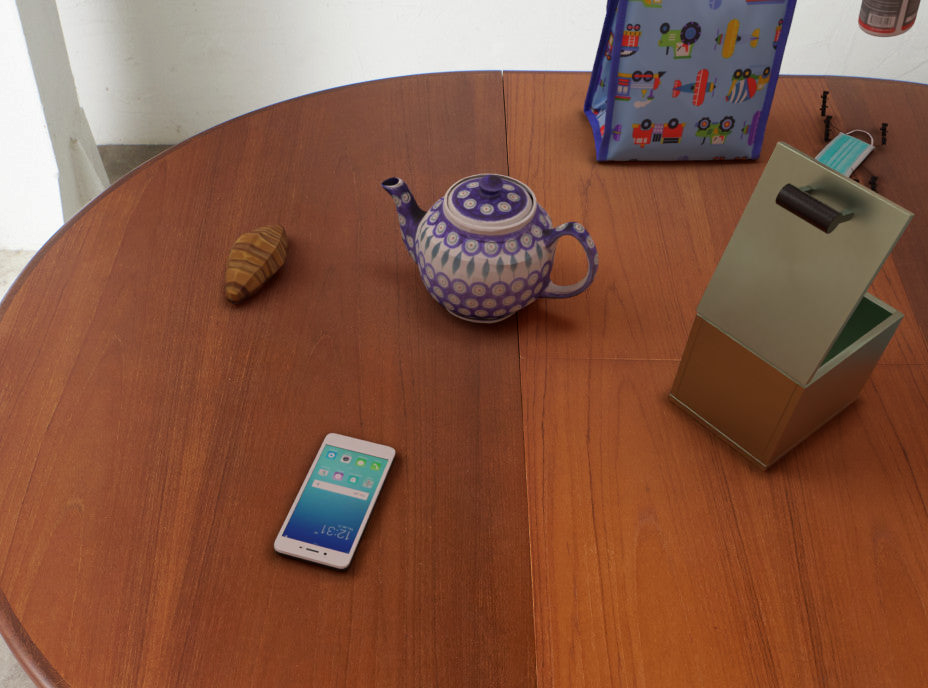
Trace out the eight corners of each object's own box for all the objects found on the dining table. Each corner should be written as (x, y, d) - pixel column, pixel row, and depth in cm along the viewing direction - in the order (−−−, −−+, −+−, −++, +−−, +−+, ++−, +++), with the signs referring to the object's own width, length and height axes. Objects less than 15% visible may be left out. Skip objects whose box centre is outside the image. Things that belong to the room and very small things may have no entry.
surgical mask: (820, 85, 129) (897, 97, 127) (810, 115, 132) (884, 127, 130) (812, 168, 117) (896, 183, 115) (801, 199, 120) (882, 213, 118)
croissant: (261, 315, 105) (255, 280, 101) (206, 301, 107) (199, 265, 103) (308, 243, 113) (305, 208, 109) (256, 231, 114) (251, 196, 110)
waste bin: (761, 335, 105) (797, 248, 95) (856, 400, 99) (905, 314, 90) (667, 399, 99) (696, 313, 89) (763, 471, 93) (805, 388, 84)
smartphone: (398, 448, 93) (347, 569, 84) (398, 453, 94) (348, 574, 85) (327, 430, 94) (270, 548, 85) (328, 436, 95) (271, 553, 86)
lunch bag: (733, 108, 133) (804, -125, 109) (758, 164, 124) (841, -75, 101) (580, 110, 132) (619, -124, 108) (596, 167, 123) (642, -74, 100)
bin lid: (782, 140, 78) (751, 146, 75) (915, 214, 72) (887, 223, 70) (699, 308, 89) (670, 319, 86) (809, 383, 83) (781, 397, 81)
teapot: (607, 288, 109) (633, 174, 97) (558, 371, 101) (580, 258, 89) (414, 224, 116) (416, 110, 104) (353, 298, 107) (348, 183, 95)
